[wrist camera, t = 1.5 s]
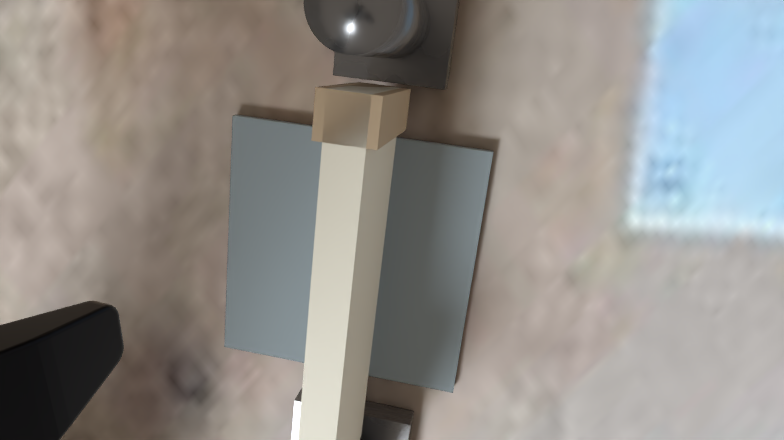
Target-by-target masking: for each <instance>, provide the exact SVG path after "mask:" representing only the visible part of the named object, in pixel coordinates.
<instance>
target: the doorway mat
mask: <svg viewBox="0 0 784 440" xmlns="http://www.w3.org/2000/svg"><path fill="white" fill-rule="evenodd" d="M311 138H312V125H307V124H300V123H293V122H285V121H278V120H271V119H264V118H257V117H250V116H243V115H233V120H232V148H231V176H230V205H229V233H228V262H227V290H226V319H225V347H228V348H233V349H238V350H243V351H248V352H253V353H258V354H263V355H268V356H273V357H278V358H283V359H288V360H293V361H298V362H302V363H304V361H305V349H306V336H307V324H308V311H309V299H310V287H311V274H312V262H313V249H314V237H315V225H316V212H317V200H318V188H319V175H320V163H321V150H322V142H317V141H311ZM492 157H493V151H491V150H484V149H477V148H470V147H463V146H456V145H449V144H441V143H434V142H427V141H420V140H413V139H406V138H399V137H396V146H395V154H394V163H393V171H392V179H391V188H390V196H389V205H388V213H387V222H386V230H385V239H384V247H383V256H382V264H381V273H380V281H379V290H378V298H377V307H376V315H375V324H374V332H373V341H372V349H371V358H370V366H369V374H368V376H372V377H377V378H382V379H387V380H392V381H397V382H402V383H407V384H412V385H417V386H421V387H426V388H431V389H436V390H441V391H446V392H451V393H453V389H454V383H455V377H456V371H457V365H458V359H459V353H460V348H461V342H462V336H463V330H464V324H465V318H466V312H467V306H468V300H469V294H470V288H471V282H472V276H473V270H474V264H475V258H476V252H477V246H478V240H479V234H480V228H481V222H482V217H483V211H484V205H485V199H486V193H487V187H488V181H489V175H490V169H491V163H492Z"/></svg>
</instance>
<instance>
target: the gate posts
mask: <svg viewBox="0 0 784 440" xmlns="http://www.w3.org/2000/svg"><path fill="white" fill-rule="evenodd" d="M458 7H459V0H304V11H305V16H306V19H307V22H308V25H309V27H310V29H311V31H312V32H313V34H314V35H315V36H316V38H317V39H318V40H319V41H320V42H321V43H322V44H323V45H325V46H326V47H328V48H329V49H331V50H333V51H335V57H334V69H333V75H335V76H343V77H351V78H359V79H367V80H375V81H382V82H390V83H398V84H406V85H414V86H422V87H429V88H437V89H447V85H448V78H449V71H450V64H451V57H452V50H453V42H454V35H455V28H456V21H457V14H458ZM301 398H302V389H301V390H300V392H299V394H298V395H297V397H296V399H295V400H294V412H293V425H292V438H291V440H298V435H299V423H300V410H301ZM413 412H414V411H411V410H406V409H402V408H397V407H392V406H387V405H382V404H378V403H373V402H368V401H365V408H364V417H363V425H362V434H361V438H360V440H410V433H411V426H412V419H413Z"/></svg>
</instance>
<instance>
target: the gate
mask: <svg viewBox="0 0 784 440" xmlns="http://www.w3.org/2000/svg"><path fill="white" fill-rule="evenodd" d="M410 93H411V89H408V88H400V87H392V86H384V85H377V84H369V83H361V82H358V83H349V84H339V85H330V86H321V87H315V99H314V112H313V125H312V138H311V141H317V142H322V150H321V163H320V175H319V188H318V200H317V212H316V225H315V237H314V249H313V262H312V274H311V287H310V299H309V311H308V324H307V336H306V349H305V361H304V373H303V386H302V398H301V410H300V423H299V435H298V440H360V438H361V434H362V425H363V417H364V408H365V400H366V391H367V383H368V374H369V366H370V358H371V349H372V341H373V332H374V324H375V315H376V307H377V298H378V290H379V281H380V273H381V264H382V256H383V247H384V239H385V230H386V222H387V213H388V205H389V196H390V188H391V179H392V171H393V163H394V154H395V146H396V137H397V136H398V135H400V134H401V133H402V132H404V131H405V130H406V125H407V117H408V109H409V101H410Z"/></svg>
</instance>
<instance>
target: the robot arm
mask: <svg viewBox="0 0 784 440" xmlns="http://www.w3.org/2000/svg"><path fill="white" fill-rule="evenodd" d="M123 349H124V345H123V338H122V332H121V326H120V320H119V314H118V311H117V310H116V308H115V307H113V306H112V305H109V304H105V303H101V302H97V301H87V302H83V303H80V304H76V305H72V306H69V307H65V308H61V309H58V310H54V311H50V312H47V313H43V314H39V315H36V316H32V317H29V318H25V319H21V320H18V321H14V322H10V323H7V324H3V325H0V440H60V439H61V437H62V436H63V435H64V434H65V432H66V431H67V430H68V429H69V427H70V426H71V425H72V423H73V422H74V421H75V419H76V418H77V417H78V415H79V414H80V413H81V411H82V410H83V409H84V407H85V406H86V405H87V403H88V402H89V401H90V399H91V398H92V397H93V395H94V394H95V393H96V391H97V390H98V389H99V387H100V386H101V385H102V383H103V382H104V381H105V379H106V378H107V377H108V376H109V374H110V373H111V372H112V370H113V369H114V368H115V366H116V365H117V364H118V362H119V361H120V359H121V357H122V354H123Z"/></svg>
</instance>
